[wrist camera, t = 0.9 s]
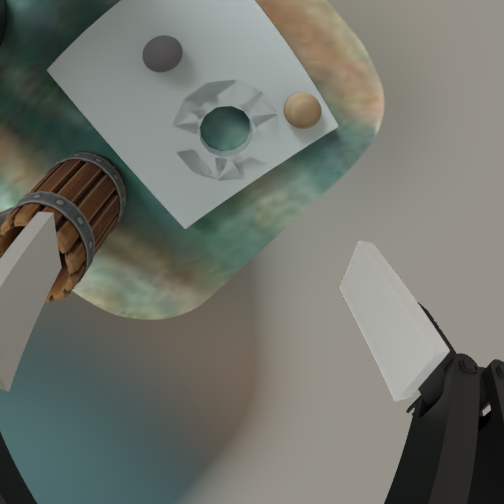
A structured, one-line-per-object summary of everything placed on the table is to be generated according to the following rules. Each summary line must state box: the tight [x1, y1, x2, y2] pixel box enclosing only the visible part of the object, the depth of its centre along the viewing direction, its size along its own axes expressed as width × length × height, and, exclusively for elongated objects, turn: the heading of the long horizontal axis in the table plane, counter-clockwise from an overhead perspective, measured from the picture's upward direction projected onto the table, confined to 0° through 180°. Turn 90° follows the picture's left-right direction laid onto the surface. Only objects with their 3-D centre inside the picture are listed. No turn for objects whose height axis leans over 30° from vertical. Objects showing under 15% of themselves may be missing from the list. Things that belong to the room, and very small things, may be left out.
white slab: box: [47, 0, 339, 229], centre depth 27 cm, size 24×20×2 cm
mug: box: [0, 151, 127, 303], centre depth 26 cm, size 16×11×15 cm
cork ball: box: [283, 92, 322, 129], centre depth 27 cm, size 4×4×4 cm
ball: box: [142, 35, 183, 72], centre depth 23 cm, size 4×4×4 cm
